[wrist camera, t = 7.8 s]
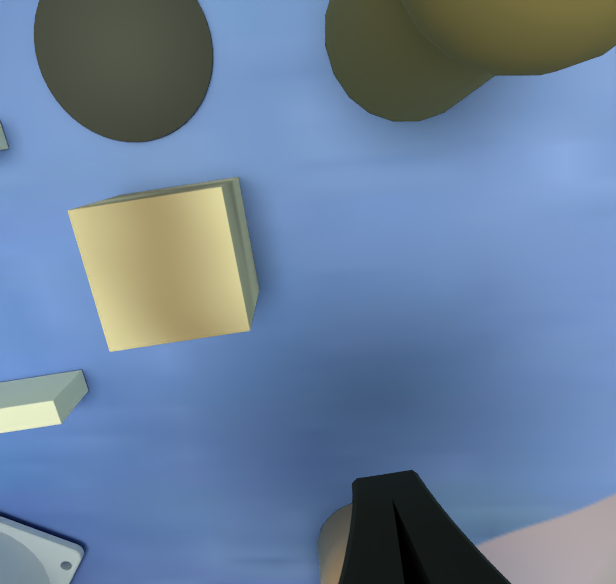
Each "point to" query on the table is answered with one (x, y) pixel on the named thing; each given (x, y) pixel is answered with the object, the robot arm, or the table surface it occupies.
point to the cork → (455, 47)
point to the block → (169, 263)
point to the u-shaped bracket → (38, 392)
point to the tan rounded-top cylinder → (333, 545)
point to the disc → (125, 63)
